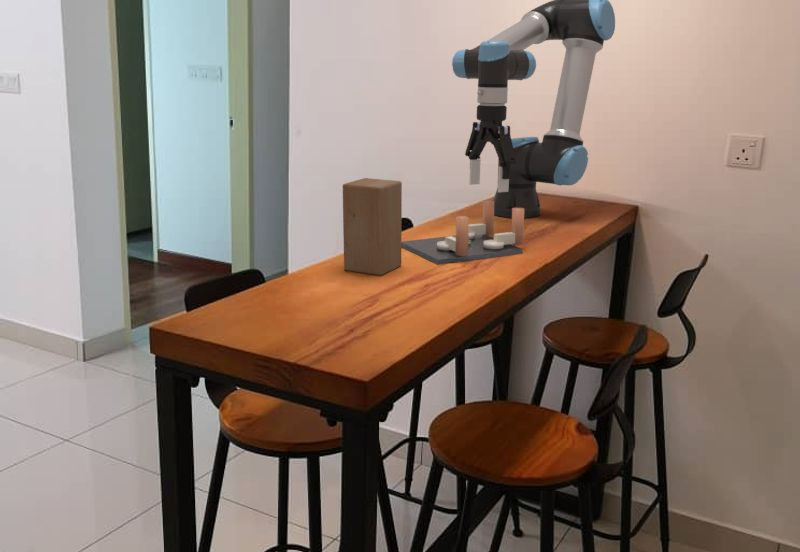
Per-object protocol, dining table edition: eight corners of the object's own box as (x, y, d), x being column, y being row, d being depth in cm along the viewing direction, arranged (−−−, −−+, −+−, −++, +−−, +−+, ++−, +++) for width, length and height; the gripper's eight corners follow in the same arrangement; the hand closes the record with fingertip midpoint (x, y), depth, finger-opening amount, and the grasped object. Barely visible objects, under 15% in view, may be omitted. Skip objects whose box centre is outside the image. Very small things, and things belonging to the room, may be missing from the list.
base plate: (479, 236, 215) (479, 228, 214) (522, 253, 198) (522, 244, 197) (399, 246, 205) (399, 237, 204) (438, 264, 188) (438, 255, 187)
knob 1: (433, 246, 198) (433, 211, 196) (450, 244, 200) (451, 209, 198) (455, 256, 189) (456, 219, 186) (473, 254, 191) (474, 217, 188)
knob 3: (490, 249, 195) (491, 213, 193) (479, 245, 199) (480, 210, 197) (527, 245, 200) (529, 209, 197) (516, 241, 204) (517, 206, 202)
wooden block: (343, 270, 182) (341, 183, 177) (365, 260, 191) (364, 177, 185) (381, 276, 178) (381, 187, 172) (402, 265, 187) (402, 180, 181)
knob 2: (461, 240, 205) (462, 205, 203) (451, 236, 209) (452, 202, 207) (497, 235, 210) (498, 202, 207) (487, 232, 214) (488, 198, 212)
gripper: (454, 102, 211) (451, 181, 217) (507, 107, 190) (503, 196, 195) (478, 101, 214) (475, 180, 220) (533, 107, 193) (528, 194, 199)
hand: (488, 188), depth 208 cm, fingers open, 13 cm apart
